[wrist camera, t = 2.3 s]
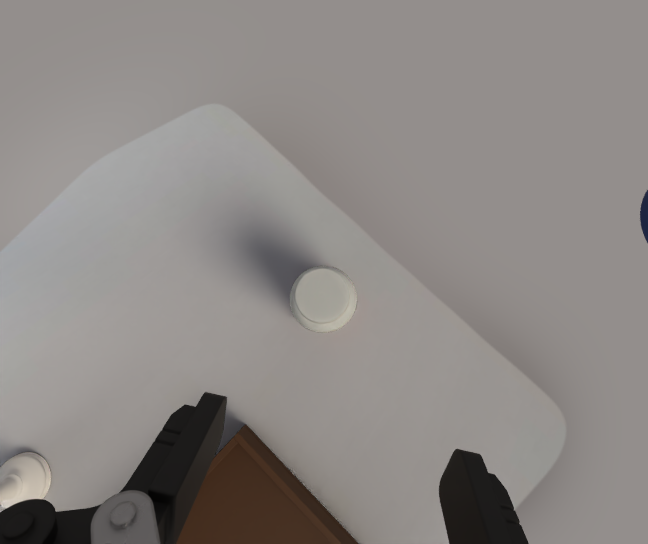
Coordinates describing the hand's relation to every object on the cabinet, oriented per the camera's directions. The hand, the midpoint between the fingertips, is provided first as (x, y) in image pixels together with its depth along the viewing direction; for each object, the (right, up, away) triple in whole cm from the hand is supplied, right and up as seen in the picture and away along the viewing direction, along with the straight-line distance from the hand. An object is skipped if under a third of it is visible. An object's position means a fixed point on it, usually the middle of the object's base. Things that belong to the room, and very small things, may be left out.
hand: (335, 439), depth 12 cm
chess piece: (-28, -14, +21) cm, 38 cm away
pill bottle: (0, +3, +23) cm, 23 cm away
